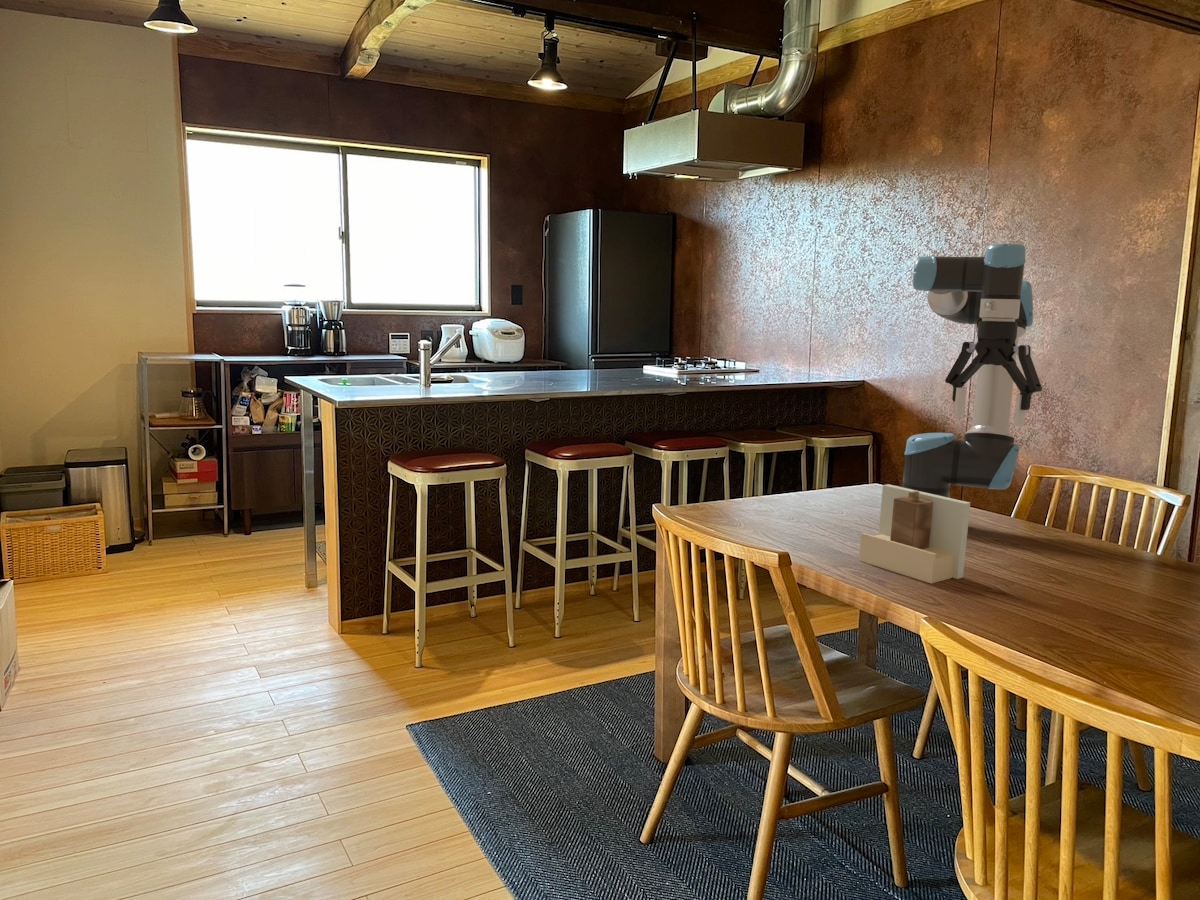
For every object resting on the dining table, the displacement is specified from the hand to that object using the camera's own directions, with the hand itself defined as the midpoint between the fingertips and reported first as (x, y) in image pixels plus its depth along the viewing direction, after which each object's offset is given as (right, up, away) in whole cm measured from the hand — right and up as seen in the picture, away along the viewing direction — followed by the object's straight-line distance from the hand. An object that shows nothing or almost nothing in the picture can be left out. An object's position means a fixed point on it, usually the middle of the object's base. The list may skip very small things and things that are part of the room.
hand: (987, 421), depth 183 cm
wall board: (-16, -31, +2) cm, 35 cm away
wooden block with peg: (-16, -27, +1) cm, 31 cm away
